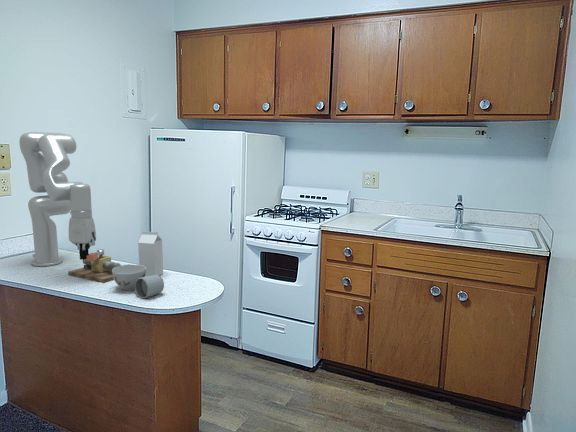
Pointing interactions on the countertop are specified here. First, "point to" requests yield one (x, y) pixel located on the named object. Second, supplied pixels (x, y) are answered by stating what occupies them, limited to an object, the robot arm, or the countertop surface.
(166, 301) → the countertop surface
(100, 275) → the stand
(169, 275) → the countertop surface
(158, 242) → the milk carton
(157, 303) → the countertop surface
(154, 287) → the ceramic mug
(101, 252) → the valve lever
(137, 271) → the teacup
